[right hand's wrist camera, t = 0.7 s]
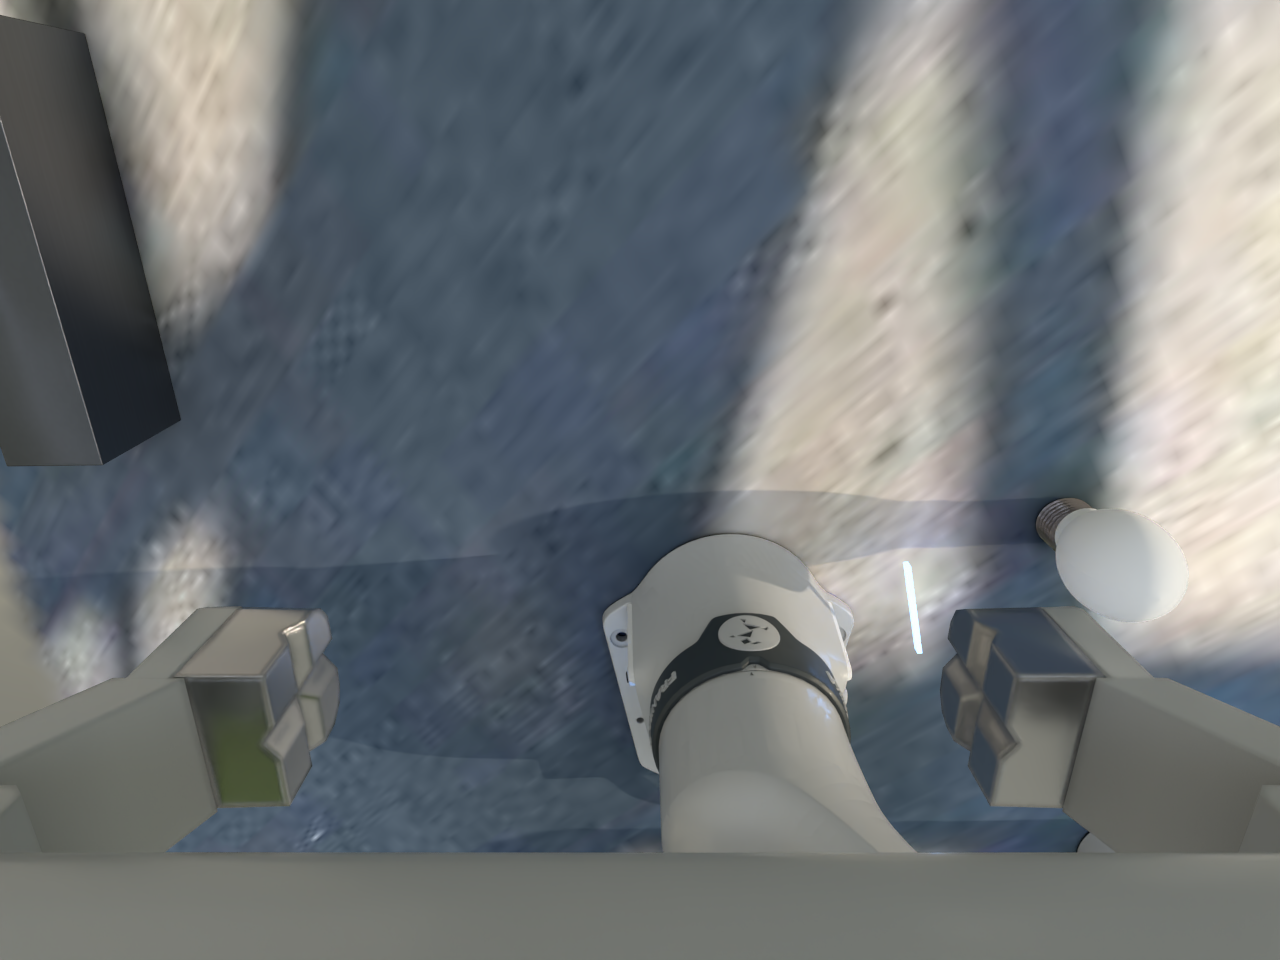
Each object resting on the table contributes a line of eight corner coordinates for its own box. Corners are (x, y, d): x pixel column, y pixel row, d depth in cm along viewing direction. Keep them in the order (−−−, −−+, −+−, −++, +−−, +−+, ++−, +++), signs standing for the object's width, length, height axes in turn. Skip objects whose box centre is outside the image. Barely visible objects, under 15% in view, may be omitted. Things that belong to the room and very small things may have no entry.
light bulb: (1007, 557, 57) (1087, 644, 47) (1032, 472, 55) (1122, 544, 45) (1098, 563, 58) (1196, 651, 47) (1127, 479, 55) (1237, 552, 45)
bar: (181, 420, 54) (102, 465, 46) (99, 421, 54) (6, 466, 46) (85, 33, 45) (-33, 7, 37) (-14, 34, 45) (-152, 9, 37)
